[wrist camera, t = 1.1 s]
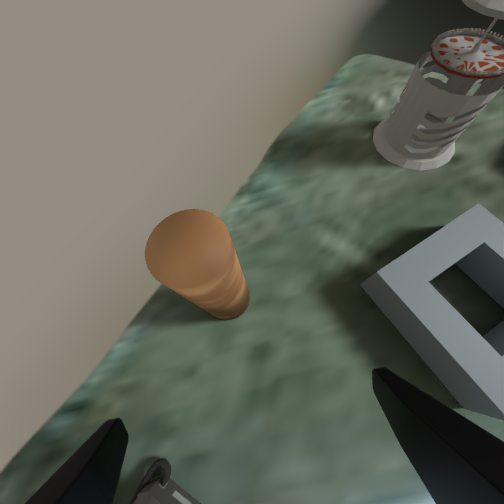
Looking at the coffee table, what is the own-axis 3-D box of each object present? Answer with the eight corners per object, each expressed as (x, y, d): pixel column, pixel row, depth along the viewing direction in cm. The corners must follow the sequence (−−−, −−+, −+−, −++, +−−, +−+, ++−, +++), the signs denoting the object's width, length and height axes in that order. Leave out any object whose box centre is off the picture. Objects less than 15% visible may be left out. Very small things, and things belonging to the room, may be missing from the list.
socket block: (463, 408, 19) (511, 422, 15) (359, 284, 23) (376, 271, 19) (561, 325, 20) (625, 319, 17) (447, 225, 25) (478, 203, 21)
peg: (219, 329, 22) (164, 306, 11) (198, 290, 24) (133, 235, 12) (257, 304, 23) (246, 257, 11) (235, 268, 24) (206, 196, 13)
